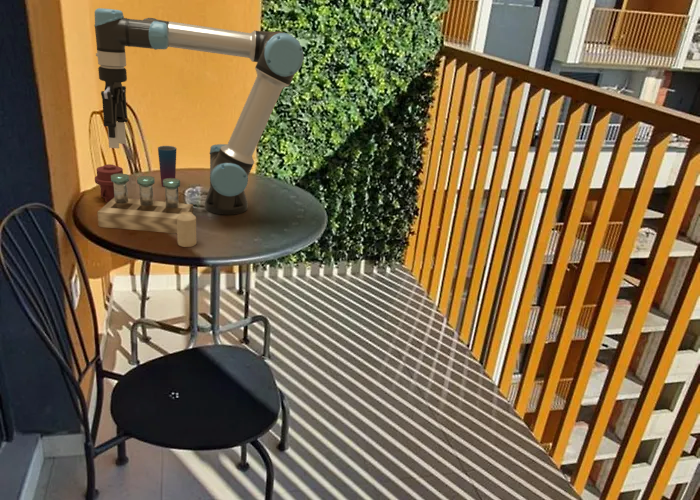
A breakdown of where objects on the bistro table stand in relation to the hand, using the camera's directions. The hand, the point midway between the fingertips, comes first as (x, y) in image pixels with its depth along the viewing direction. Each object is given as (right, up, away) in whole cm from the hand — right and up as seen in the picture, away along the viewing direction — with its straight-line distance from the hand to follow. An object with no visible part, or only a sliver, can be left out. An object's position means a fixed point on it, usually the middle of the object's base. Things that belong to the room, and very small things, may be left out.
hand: (117, 145), depth 166 cm
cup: (0, -7, +46) cm, 46 cm away
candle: (+22, -30, -1) cm, 37 cm away
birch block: (+5, -23, +11) cm, 26 cm away
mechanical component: (-13, -14, +26) cm, 32 cm away
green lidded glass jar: (+6, -17, +8) cm, 20 cm away
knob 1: (-2, -17, +7) cm, 18 cm away
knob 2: (+14, -18, +9) cm, 24 cm away
